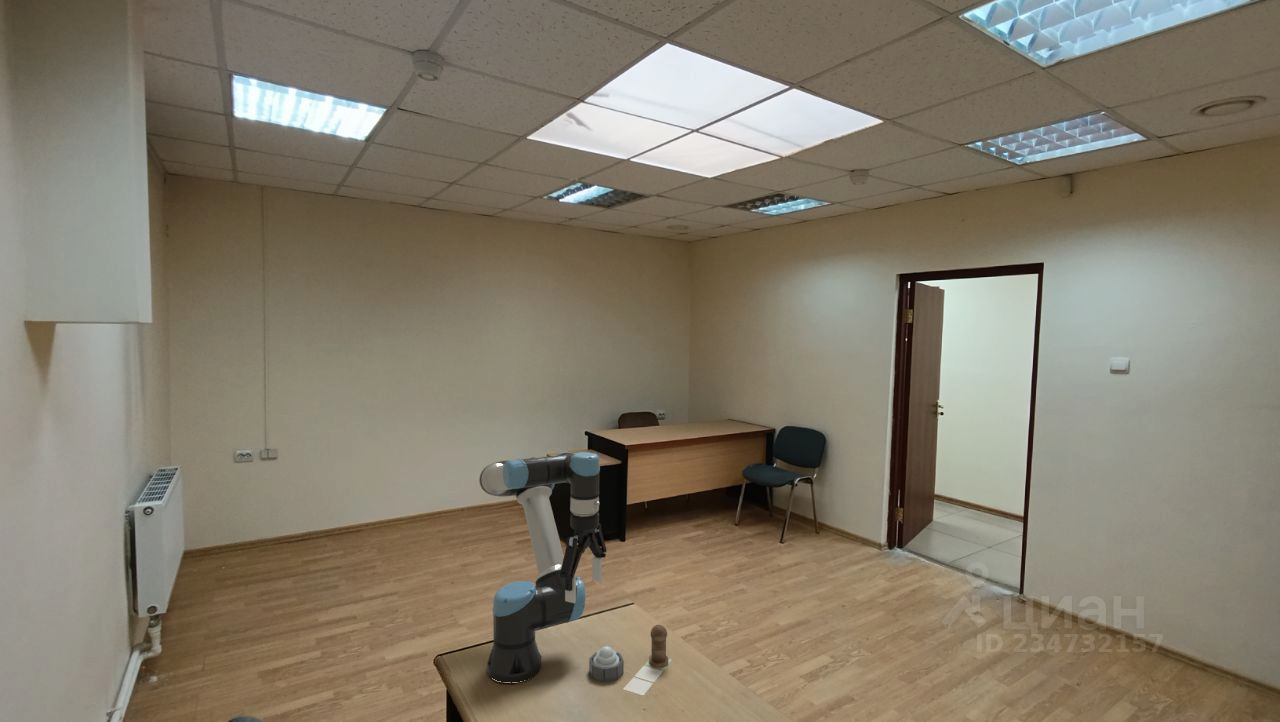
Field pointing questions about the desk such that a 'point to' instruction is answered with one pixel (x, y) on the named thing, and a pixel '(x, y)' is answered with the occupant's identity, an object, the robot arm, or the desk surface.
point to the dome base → (606, 670)
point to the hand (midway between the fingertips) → (584, 591)
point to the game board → (646, 674)
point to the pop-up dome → (606, 657)
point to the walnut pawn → (658, 647)
